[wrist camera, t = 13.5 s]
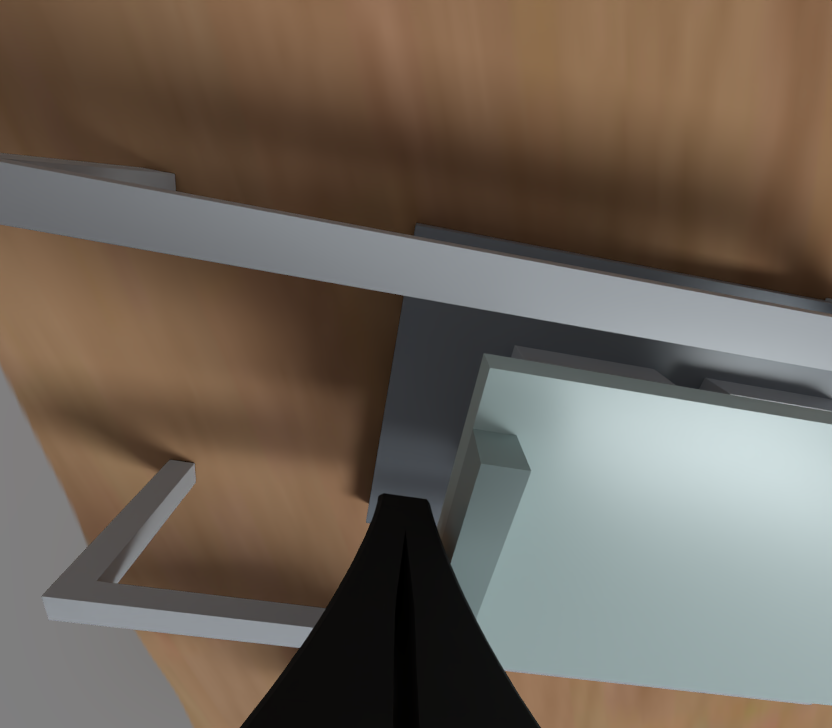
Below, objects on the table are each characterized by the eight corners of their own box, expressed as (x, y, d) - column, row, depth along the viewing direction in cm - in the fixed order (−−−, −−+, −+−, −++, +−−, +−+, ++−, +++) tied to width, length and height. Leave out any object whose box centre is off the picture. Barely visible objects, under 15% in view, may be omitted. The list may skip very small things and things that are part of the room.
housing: (725, 555, 21) (858, 710, 15) (171, 478, 19) (48, 619, 13) (897, 311, 16) (1231, 391, 9) (139, 167, 14) (-108, 141, 7)
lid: (825, 679, 14) (889, 755, 12) (408, 630, 13) (407, 705, 11) (1065, 451, 10) (1218, 511, 8) (483, 353, 9) (502, 395, 7)
